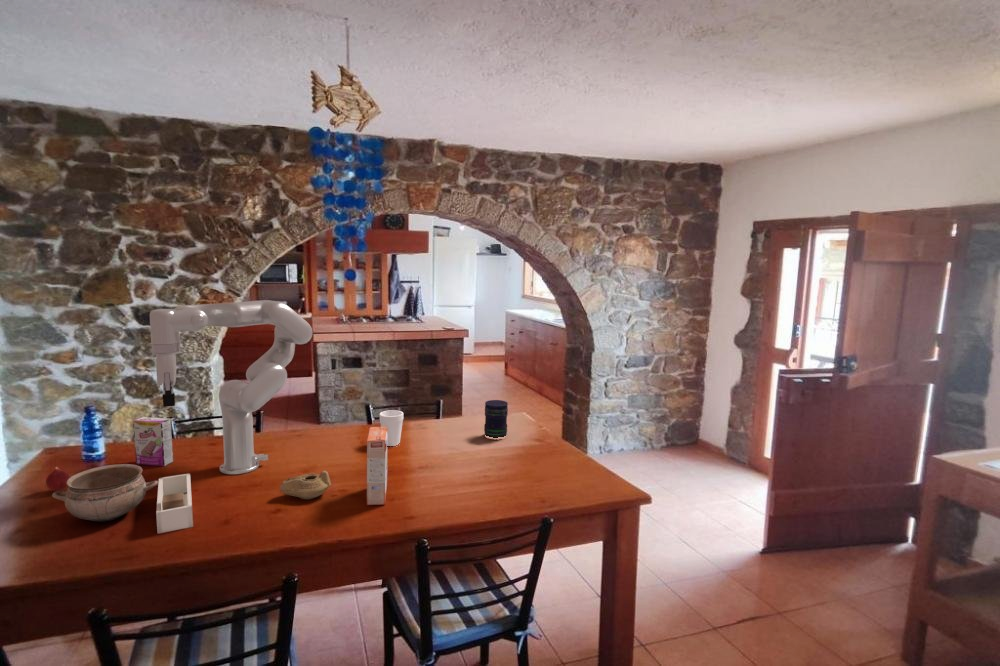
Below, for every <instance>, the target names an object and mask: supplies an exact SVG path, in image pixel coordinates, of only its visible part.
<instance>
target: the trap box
mask: <svg viewBox="0 0 1000 666" xmlns="http://www.w3.org/2000/svg"><path fill="white" fill-rule="evenodd" d="M157 486H158V487H157V498H156V500H157V501H156V509H155V510H156V511H155V512H156V513H155V515H156V516H155V517H156V527H157V528H156V529H157V534H163V533H168V532H173V531H177V530H183V529H184V530H185V529H189V528H193V527H194V519H193V518H194V517H193V516H194V515H193V500H192V483H191V473H183V474H176V475H169V476H164V477H163V476H162V477H159V478H158V484H157ZM182 492H183V494H184V506H183V507H177V508H171V509H166V510H162V498H163V495H170V494H176V493H182Z"/></svg>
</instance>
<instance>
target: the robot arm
mask: <svg viewBox="0 0 1000 666" xmlns="http://www.w3.org/2000/svg"><path fill="white" fill-rule="evenodd" d="M259 325H261V326H262V325H272V326H275V327H274V341H273V344H272V346H271V347H270V348H269V349H268V350H267V351H266V352H265V353H264V354H263V355H261V356H260V357H259V358H258V359H257V360H255V361H254V362H253V363H252V364H250V365H249V367H248V368H247V369H246V372H245V378H246V380H247V382H246V381H243V380H240V379H231V380H228V381H226V382H224V384H222V386H221V387H220V389H219V392H218V401H219V407H220V410H221V417H222V436H223V438H222V439H223V441H222V442H223V462H224V463H222V464H220V466H219V472H221V473H222V474H226V475H241V474H247V473H250V472H253V471H255V470H256V469H258V468H259V467H260V461H269V454H264V453H259V454H258V453H257V454H256V453H255V451H254V450H255V447H254V426H253V424H254V420H253V419H254V418H253V412H256V411H258V410H260V409H261V408H262V407H263V406H264V405H265V404H266V403H267V402H269V401H270V400H271V399H272V398H273V397H274V396H276V395H277V393H278V392H280V391H281V390H282V388H283V387H284V386H285V384H286V382H287V381H288V372H287V370H286V367H287V366H288V365H289V364H290V363H291V362H292V360H293V358H294V355H295V351H296V349H295V348H296V345H305V344H307V343H308V342H310V341H311V339H312V337H313V328H312V326H311V325H310V323H309V322H308V321H307V320H305V318H303V317H302V316H301V315H299V313H297V312H296V310H294V309H292V308H291V307H290V306H289V305H287V304H286V303H285V302H283V301H277V300H269V299H265V300H264V299H262V300H260V299H259V300H249V301H235V302H221V303H220V302H219V303H203V304H188V305H187V304H186V305H178V306H176V307H174V308H173V309H172V308H158V309H157V308H156V309H152V310H151V311H150V312H149V327H150V328H149V329H150V341H151V342H150V343H151V354H152V356H155V369H156V370H155V371H156V386H157V387H158V388H160V387H161V386H162V406H163V407H164V408H165V407H166V408H168V407H175V406H176V397H175V395H176V393H175V392H174V386H175V385H176V382H177V381H176V380H177V356H176V355H178V354H180V353H181V346H180V345H181V344H180V332H199V331H202V330H204V329H205V328H206V327H210V326H212V327H213V326H214V327H224V328H241V327H250V326H259Z"/></svg>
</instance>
